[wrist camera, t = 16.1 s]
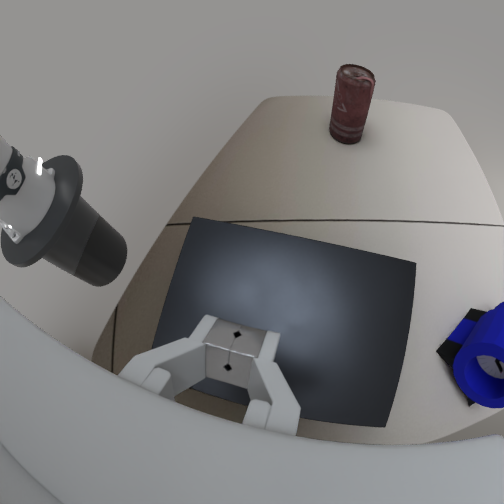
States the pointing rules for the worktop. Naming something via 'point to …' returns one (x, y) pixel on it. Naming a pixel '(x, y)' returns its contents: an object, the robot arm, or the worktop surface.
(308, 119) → the worktop surface
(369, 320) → the laptop screen
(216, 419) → the robot arm
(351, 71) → the can
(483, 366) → the alarm clock
